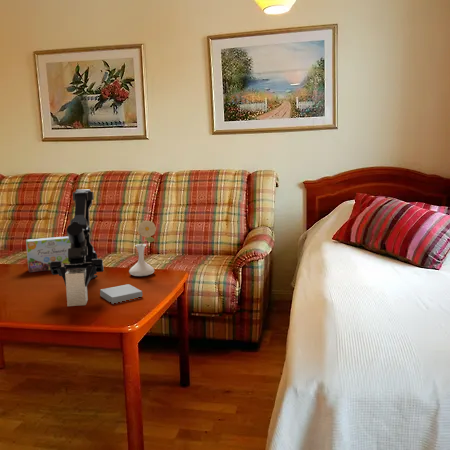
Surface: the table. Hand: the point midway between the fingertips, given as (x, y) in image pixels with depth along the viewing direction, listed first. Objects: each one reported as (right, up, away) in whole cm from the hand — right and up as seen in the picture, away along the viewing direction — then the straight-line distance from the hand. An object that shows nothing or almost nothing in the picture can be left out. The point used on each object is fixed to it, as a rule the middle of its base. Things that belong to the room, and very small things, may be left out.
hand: (76, 286), depth 161 cm
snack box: (-29, +1, +52) cm, 60 cm away
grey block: (+14, -6, +9) cm, 18 cm away
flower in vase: (+17, 0, +39) cm, 43 cm away
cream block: (0, -6, +2) cm, 7 cm away
